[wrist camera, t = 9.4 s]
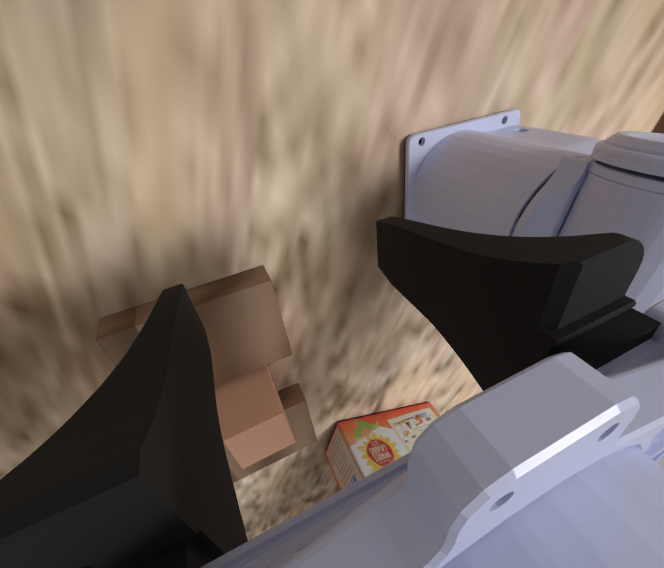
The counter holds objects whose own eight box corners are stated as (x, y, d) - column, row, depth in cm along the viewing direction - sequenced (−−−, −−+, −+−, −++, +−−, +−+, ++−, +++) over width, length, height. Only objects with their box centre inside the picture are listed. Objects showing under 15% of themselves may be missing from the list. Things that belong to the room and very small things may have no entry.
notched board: (263, 265, 22) (270, 280, 20) (310, 424, 34) (317, 441, 32) (100, 318, 19) (96, 340, 18) (213, 470, 31) (216, 490, 30)
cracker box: (322, 454, 38) (438, 731, 22) (336, 419, 36) (479, 706, 20) (413, 430, 45) (551, 631, 29) (430, 399, 42) (593, 602, 26)
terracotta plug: (260, 351, 26) (282, 412, 21) (273, 381, 28) (295, 442, 24) (211, 372, 25) (222, 441, 20) (228, 401, 27) (242, 469, 23)
